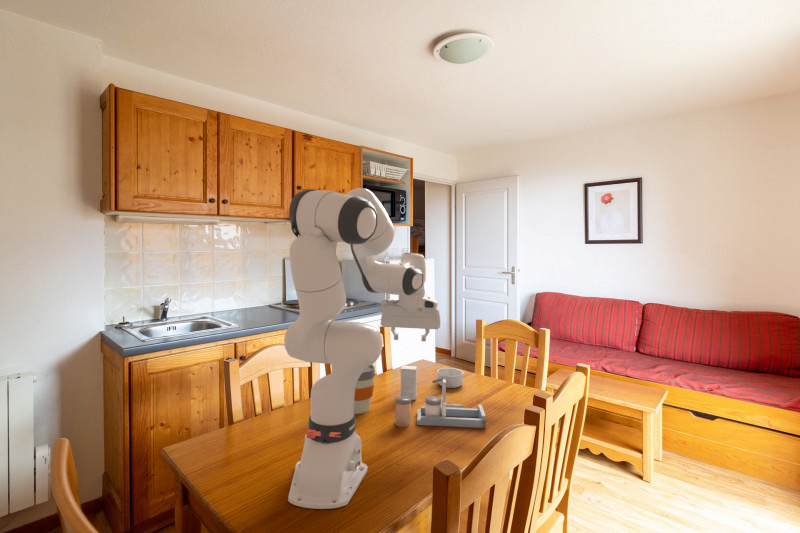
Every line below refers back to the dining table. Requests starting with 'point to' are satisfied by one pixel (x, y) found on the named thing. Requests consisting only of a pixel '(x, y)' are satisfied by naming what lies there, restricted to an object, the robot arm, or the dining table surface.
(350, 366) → the robot arm
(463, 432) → the dining table surface
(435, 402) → the cream jar
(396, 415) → the pink spice shaker
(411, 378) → the skincare box
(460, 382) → the saucepan
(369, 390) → the reusable coffee cup
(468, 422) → the blue-grey tray
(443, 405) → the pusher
